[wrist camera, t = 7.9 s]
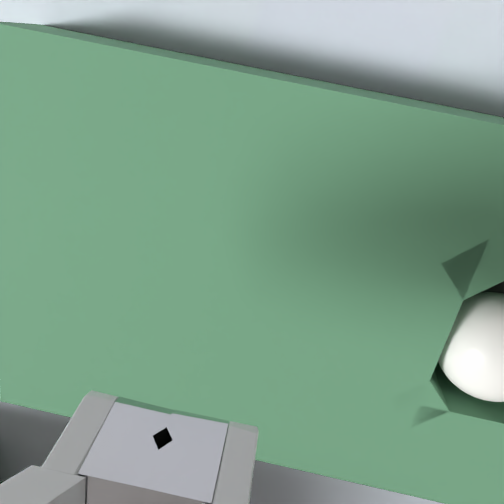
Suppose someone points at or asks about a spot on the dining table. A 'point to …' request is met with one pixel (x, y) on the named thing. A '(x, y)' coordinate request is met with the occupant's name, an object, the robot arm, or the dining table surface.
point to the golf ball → (477, 347)
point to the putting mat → (249, 255)
